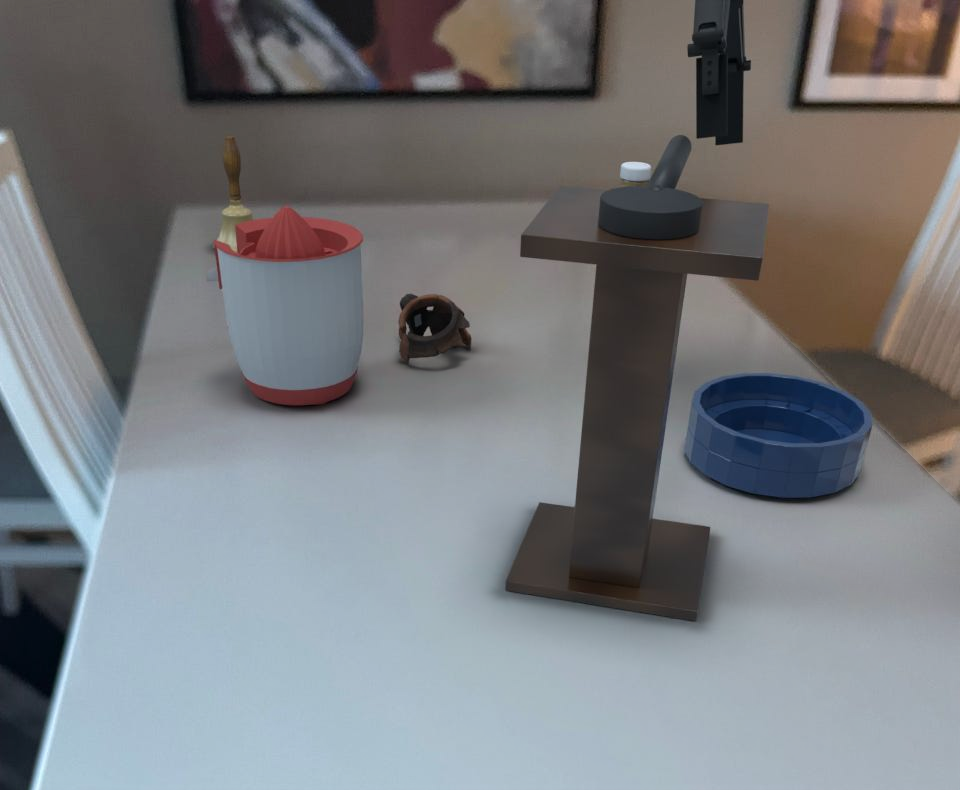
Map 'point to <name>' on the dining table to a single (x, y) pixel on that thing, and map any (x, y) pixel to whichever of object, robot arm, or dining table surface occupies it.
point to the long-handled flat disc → (654, 202)
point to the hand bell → (232, 195)
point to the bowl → (777, 434)
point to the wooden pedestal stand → (628, 408)
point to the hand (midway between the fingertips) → (721, 141)
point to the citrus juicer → (294, 306)
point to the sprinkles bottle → (634, 174)
